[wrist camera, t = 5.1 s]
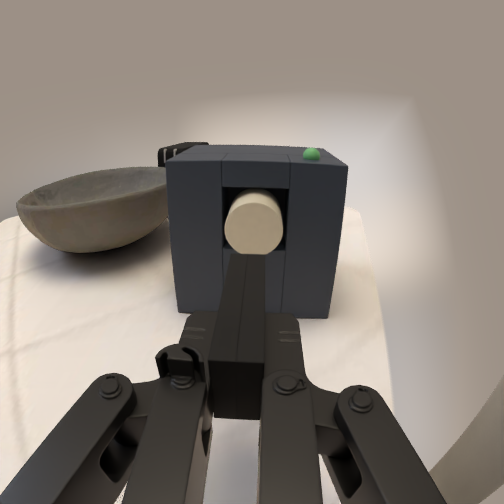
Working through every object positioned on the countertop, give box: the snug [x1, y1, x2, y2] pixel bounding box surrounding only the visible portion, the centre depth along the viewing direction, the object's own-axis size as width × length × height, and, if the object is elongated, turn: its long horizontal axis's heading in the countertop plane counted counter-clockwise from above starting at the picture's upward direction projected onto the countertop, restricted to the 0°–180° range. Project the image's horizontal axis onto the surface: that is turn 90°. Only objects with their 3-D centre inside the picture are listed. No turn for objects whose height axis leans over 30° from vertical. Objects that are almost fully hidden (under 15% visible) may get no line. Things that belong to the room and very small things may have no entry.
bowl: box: [16, 167, 168, 253], centre depth 36 cm, size 21×21×8 cm
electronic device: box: [158, 142, 209, 168], centre depth 49 cm, size 4×10×10 cm, turn 164°
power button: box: [225, 188, 283, 254], centre depth 21 cm, size 4×4×4 cm
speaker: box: [165, 145, 348, 318], centre depth 26 cm, size 10×12×13 cm
